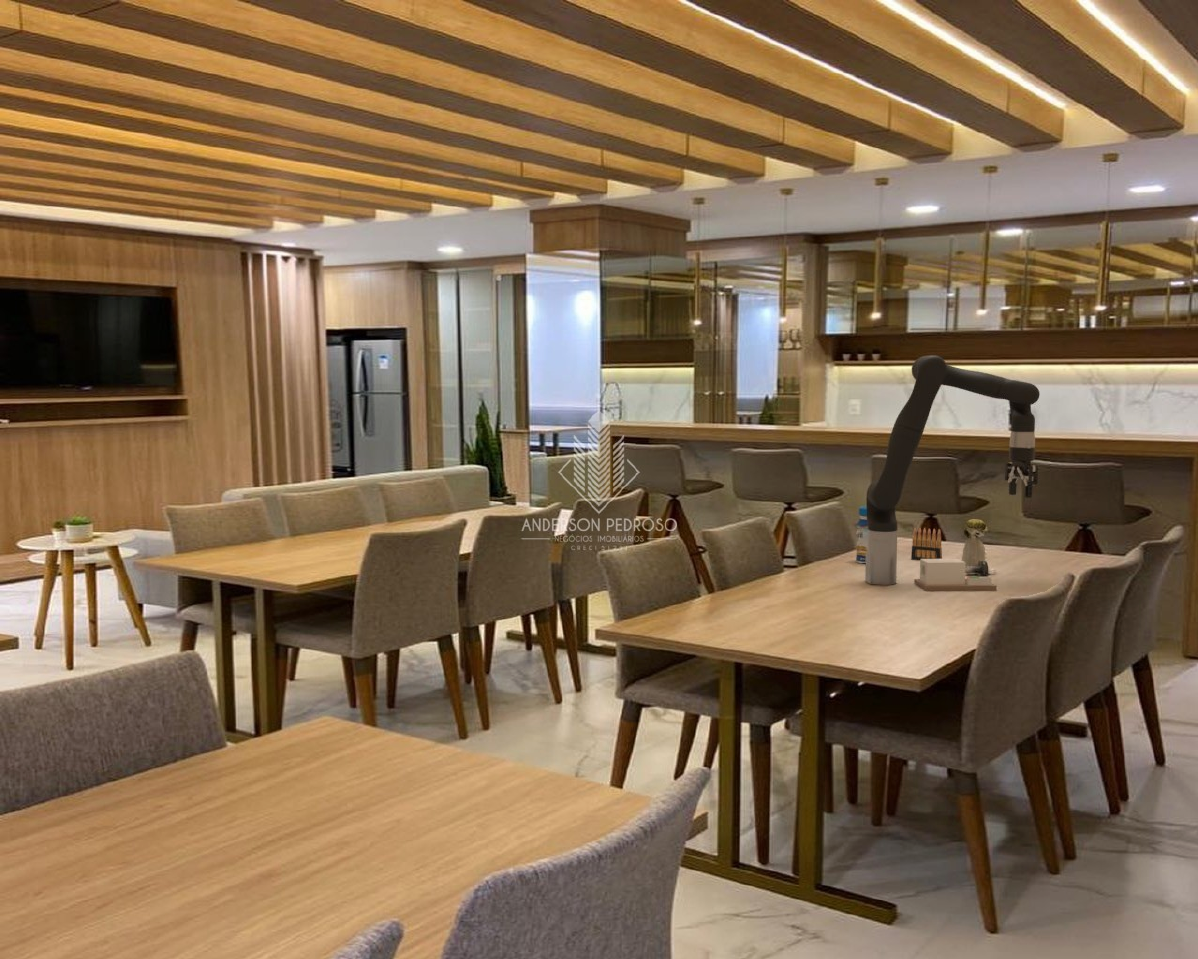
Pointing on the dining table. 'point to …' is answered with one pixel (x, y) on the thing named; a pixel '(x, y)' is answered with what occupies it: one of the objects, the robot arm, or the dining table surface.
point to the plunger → (978, 569)
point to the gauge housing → (950, 577)
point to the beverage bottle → (862, 535)
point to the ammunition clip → (926, 545)
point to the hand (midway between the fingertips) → (1020, 496)
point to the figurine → (975, 543)
